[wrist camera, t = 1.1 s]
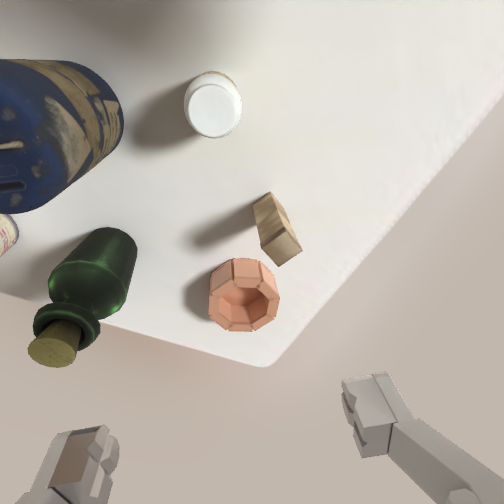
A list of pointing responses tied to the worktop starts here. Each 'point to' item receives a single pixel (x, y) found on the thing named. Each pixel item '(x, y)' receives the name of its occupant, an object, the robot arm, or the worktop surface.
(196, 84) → the supplement bottle
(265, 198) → the tan wooden post
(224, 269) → the terracotta polygonal bowl
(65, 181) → the canister
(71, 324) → the potion bottle
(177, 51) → the worktop surface
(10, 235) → the aerosol can
